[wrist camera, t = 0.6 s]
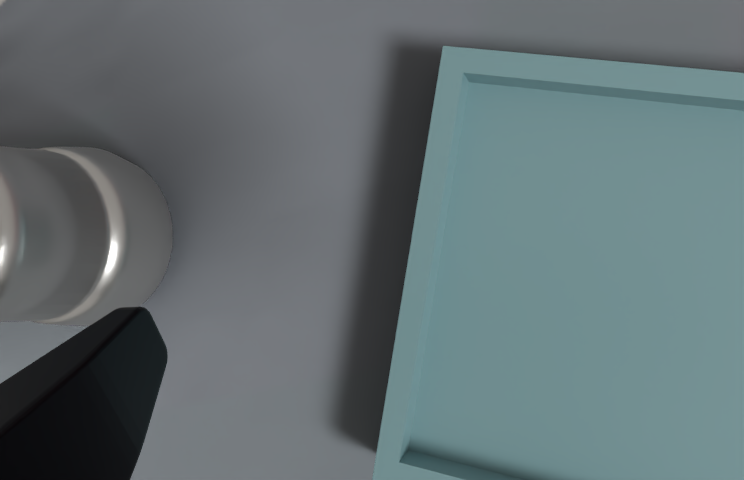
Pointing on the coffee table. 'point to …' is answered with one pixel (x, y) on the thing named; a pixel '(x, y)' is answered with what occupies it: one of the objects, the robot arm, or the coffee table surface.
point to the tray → (573, 276)
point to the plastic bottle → (78, 235)
